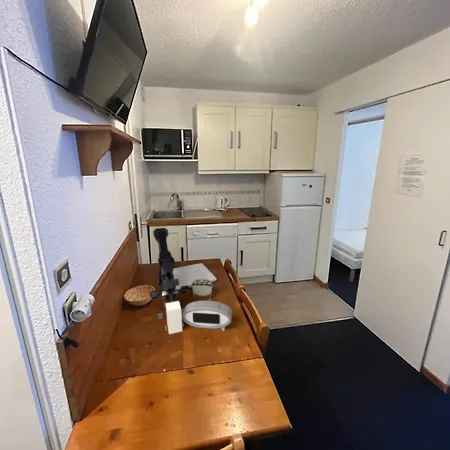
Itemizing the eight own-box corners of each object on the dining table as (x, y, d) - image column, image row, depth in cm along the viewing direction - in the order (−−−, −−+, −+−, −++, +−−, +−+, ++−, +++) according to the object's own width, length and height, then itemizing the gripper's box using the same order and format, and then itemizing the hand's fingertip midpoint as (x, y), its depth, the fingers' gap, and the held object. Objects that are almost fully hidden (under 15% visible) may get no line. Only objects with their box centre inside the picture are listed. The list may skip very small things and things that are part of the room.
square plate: (164, 275, 171) (164, 270, 170) (202, 267, 182) (202, 262, 181) (175, 294, 147) (174, 288, 146) (217, 284, 159) (217, 278, 158)
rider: (167, 327, 118) (165, 303, 114) (180, 324, 120) (178, 300, 116) (169, 336, 112) (167, 310, 109) (182, 333, 114) (180, 308, 111)
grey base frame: (156, 305, 136) (156, 300, 135) (181, 301, 140) (180, 296, 139) (160, 337, 112) (160, 332, 111) (190, 331, 116) (190, 325, 115)
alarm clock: (181, 329, 118) (180, 305, 114) (185, 320, 124) (184, 297, 120) (231, 332, 115) (231, 308, 112) (232, 323, 121) (232, 300, 118)
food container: (214, 294, 147) (214, 278, 144) (213, 300, 141) (212, 284, 138) (194, 293, 148) (193, 277, 145) (191, 298, 142) (190, 283, 139)
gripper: (148, 276, 117) (151, 310, 110) (187, 270, 123) (193, 302, 116) (149, 283, 127) (152, 315, 120) (185, 277, 132) (190, 307, 126)
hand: (172, 310), depth 120 cm, fingers closed
